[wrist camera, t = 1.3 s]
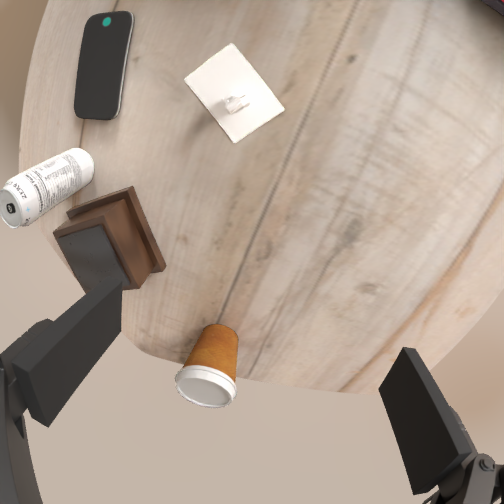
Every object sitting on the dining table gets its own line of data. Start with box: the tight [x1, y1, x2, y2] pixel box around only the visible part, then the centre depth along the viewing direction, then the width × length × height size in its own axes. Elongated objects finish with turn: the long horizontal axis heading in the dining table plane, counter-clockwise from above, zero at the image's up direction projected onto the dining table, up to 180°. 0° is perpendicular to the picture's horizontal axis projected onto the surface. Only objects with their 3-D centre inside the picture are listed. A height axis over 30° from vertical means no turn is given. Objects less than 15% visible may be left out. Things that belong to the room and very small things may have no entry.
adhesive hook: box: [221, 92, 251, 116], centre depth 29 cm, size 3×3×3 cm
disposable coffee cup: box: [175, 324, 238, 408], centre depth 45 cm, size 10×10×12 cm
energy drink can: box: [0, 148, 94, 228], centre depth 30 cm, size 6×6×15 cm
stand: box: [53, 186, 166, 294], centre depth 39 cm, size 13×13×7 cm
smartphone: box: [74, 11, 134, 120], centre depth 28 cm, size 8×1×15 cm
